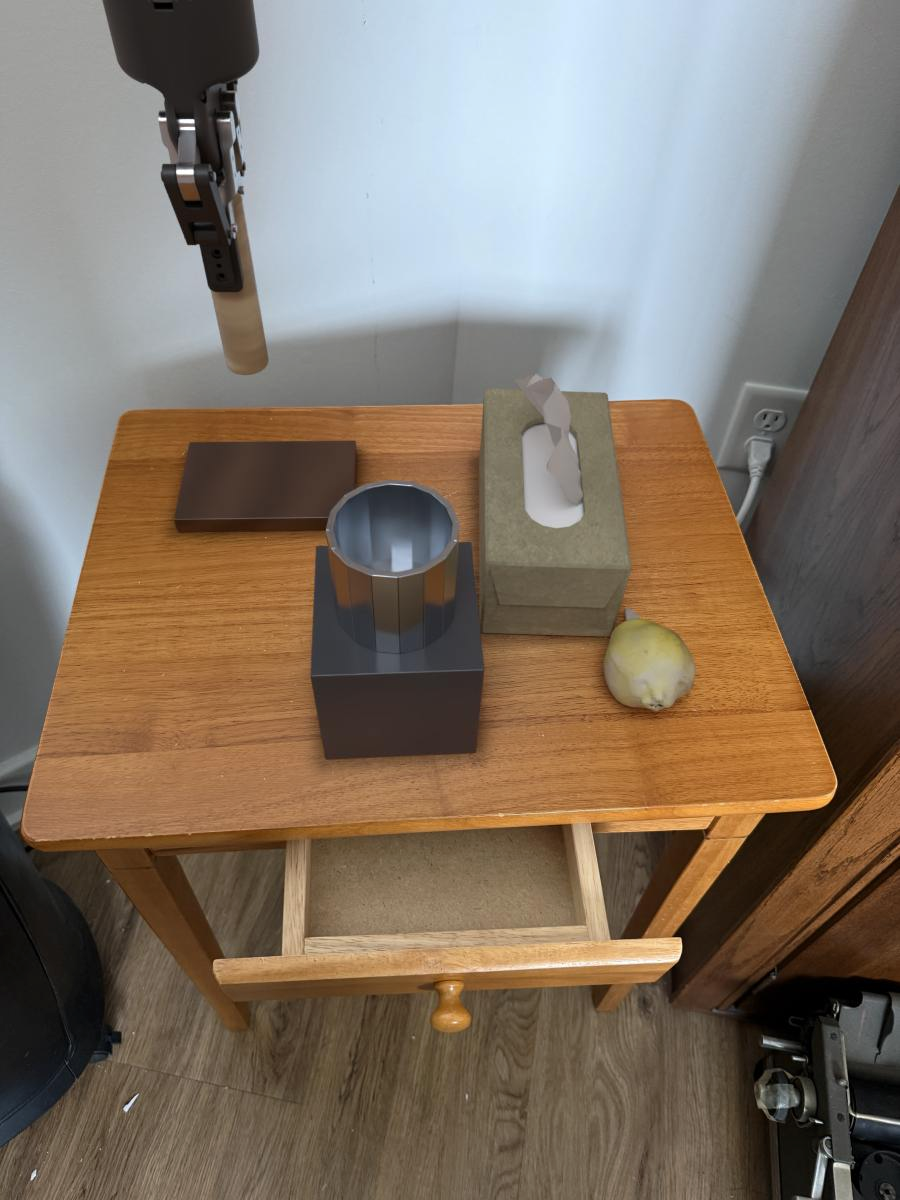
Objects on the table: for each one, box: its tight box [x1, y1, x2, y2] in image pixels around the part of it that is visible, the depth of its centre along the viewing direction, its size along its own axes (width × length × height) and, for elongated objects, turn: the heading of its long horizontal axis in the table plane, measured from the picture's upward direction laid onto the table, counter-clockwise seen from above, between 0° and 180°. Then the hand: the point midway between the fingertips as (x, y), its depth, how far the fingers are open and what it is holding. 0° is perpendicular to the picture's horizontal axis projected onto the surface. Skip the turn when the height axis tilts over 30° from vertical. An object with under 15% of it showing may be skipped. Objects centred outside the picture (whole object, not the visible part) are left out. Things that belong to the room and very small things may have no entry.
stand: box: [309, 541, 485, 760], centre depth 58 cm, size 10×10×10 cm
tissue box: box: [478, 372, 633, 638], centre depth 65 cm, size 19×10×16 cm, turn 179°
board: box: [173, 440, 358, 533], centre depth 73 cm, size 14×9×2 cm, turn 92°
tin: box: [325, 479, 461, 654], centre depth 51 cm, size 7×7×7 cm
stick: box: [210, 192, 270, 376], centre depth 59 cm, size 3×3×12 cm
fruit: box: [603, 607, 697, 712], centre depth 62 cm, size 6×6×10 cm
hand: (230, 272), depth 58 cm, fingers closed on stick, 3 cm apart
